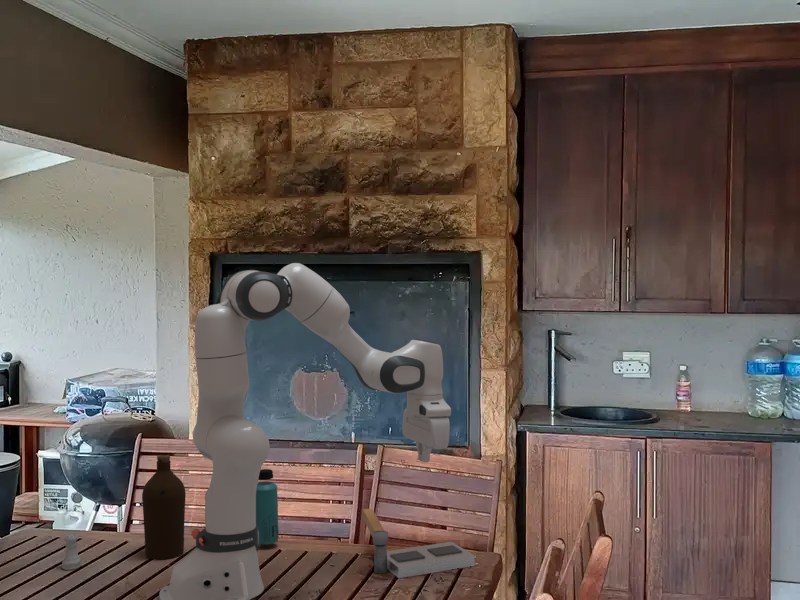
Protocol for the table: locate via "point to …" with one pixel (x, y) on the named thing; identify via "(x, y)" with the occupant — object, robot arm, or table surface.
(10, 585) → the table surface
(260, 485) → the beverage bottle
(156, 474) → the olive oil
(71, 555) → the rook chess piece
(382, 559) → the block
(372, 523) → the swing bar
